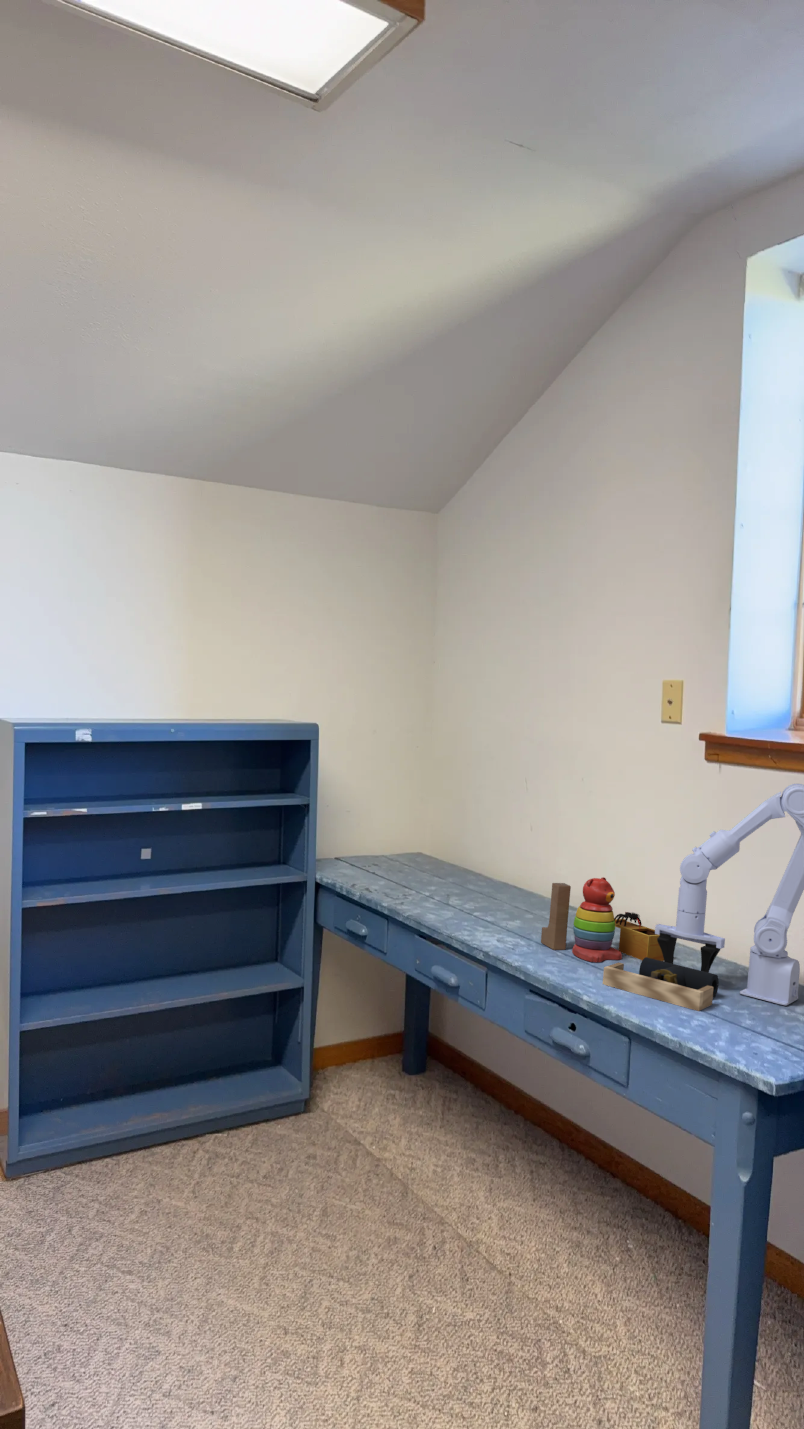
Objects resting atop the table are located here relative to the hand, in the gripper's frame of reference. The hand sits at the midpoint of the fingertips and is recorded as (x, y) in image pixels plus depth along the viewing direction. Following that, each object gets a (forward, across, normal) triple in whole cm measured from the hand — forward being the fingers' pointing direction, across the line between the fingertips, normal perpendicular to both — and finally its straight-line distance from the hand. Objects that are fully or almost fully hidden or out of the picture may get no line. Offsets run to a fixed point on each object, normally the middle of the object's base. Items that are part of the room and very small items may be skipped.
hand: (686, 974), depth 200 cm
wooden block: (+2, +33, -2) cm, 33 cm away
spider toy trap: (+2, +19, -14) cm, 23 cm away
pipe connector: (+2, -1, +9) cm, 10 cm away
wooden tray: (+2, 0, +14) cm, 14 cm away
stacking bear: (+2, +23, -2) cm, 23 cm away
